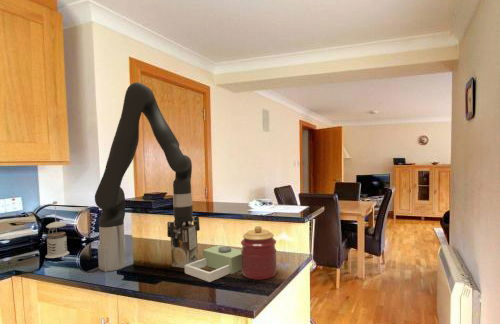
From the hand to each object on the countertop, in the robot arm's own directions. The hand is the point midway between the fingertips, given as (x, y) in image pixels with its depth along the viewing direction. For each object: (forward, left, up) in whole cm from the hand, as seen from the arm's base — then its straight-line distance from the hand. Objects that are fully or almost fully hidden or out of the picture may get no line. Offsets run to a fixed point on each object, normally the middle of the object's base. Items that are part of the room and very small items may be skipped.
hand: (184, 244), depth 128 cm
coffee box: (0, 0, -9) cm, 9 cm away
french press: (-27, +62, -9) cm, 68 cm away
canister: (+11, -30, -9) cm, 33 cm away
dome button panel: (+4, -14, -8) cm, 17 cm away
